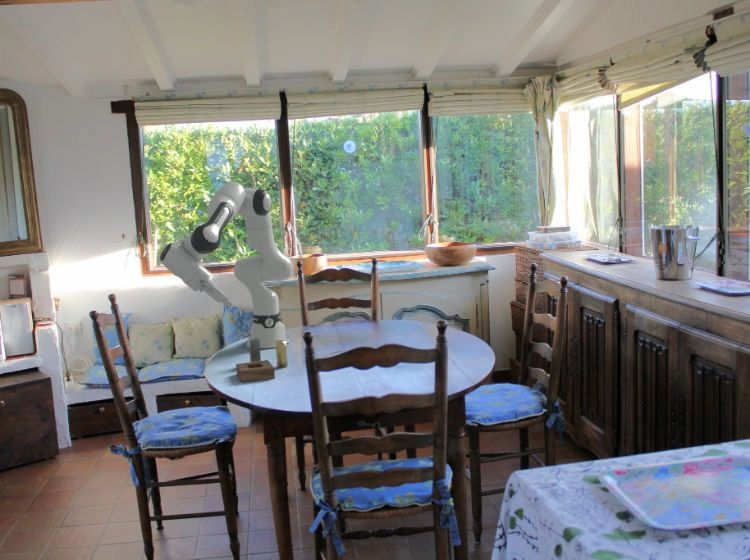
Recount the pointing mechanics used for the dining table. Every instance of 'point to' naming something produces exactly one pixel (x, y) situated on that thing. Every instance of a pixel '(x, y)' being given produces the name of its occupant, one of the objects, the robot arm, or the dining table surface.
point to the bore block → (255, 371)
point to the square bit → (254, 350)
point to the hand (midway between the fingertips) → (228, 303)
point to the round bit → (281, 353)
